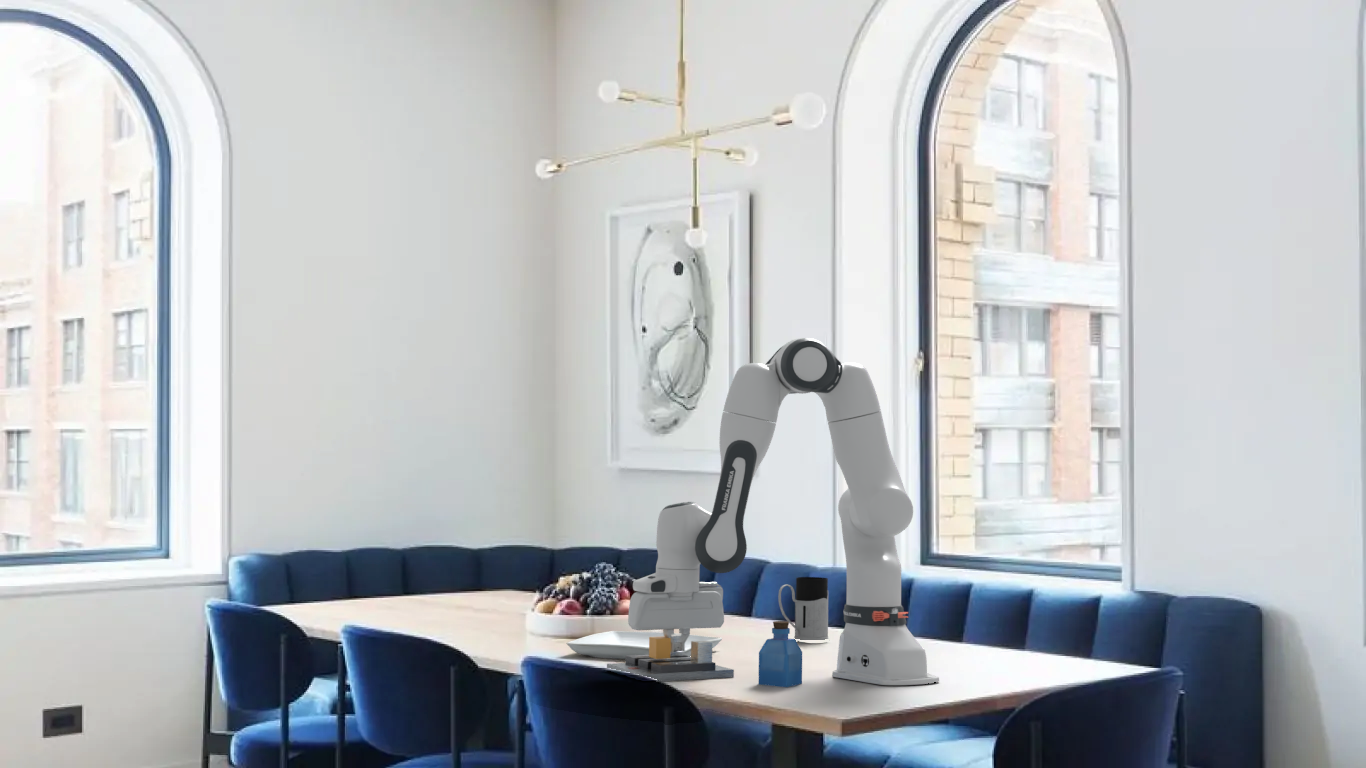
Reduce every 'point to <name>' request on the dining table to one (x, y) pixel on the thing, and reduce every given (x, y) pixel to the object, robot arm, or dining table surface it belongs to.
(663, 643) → the handle
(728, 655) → the dining table surface
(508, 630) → the dining table surface
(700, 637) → the square plate
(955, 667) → the dining table surface
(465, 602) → the dining table surface
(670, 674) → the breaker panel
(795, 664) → the blue glass bottle
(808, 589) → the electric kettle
